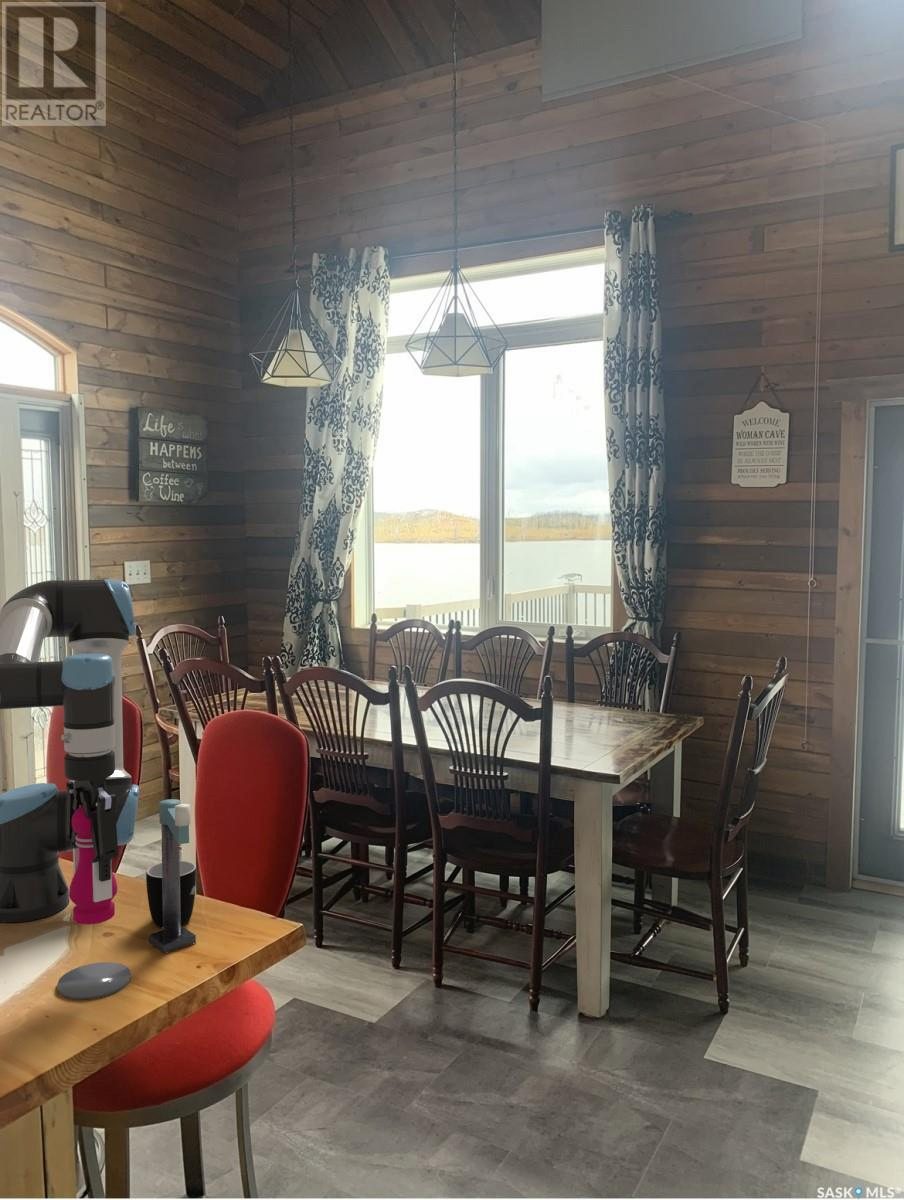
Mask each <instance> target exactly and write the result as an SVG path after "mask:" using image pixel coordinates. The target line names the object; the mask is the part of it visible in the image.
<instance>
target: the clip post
mask: <svg viewBox="0 0 904 1200" xmlns="http://www.w3.org/2000/svg"><path fill="white" fill-rule="evenodd" d="M160 826H161V827H160V828H161V863H162V892H163V928H162V930H158V931H155V932H151V933H149V934H148V941H147V942H148V944H149V945H151V944H152V945H151V946H152V947H154V948H155V949H157V950H158V951H160V952H162V953H163V954H164V955H165V954H167V952H168V953H170V951H171V952H173V950H174V951H177V950H180V949H183V948H186V947H188V945H189V946H191V944H192V945H194V944H193V943H195V944H197V936H196V935H197V934H195V933H193V932H192V931H190V930H189V929H187V928H186V927H184V926H183V925H182V926H181V912H180V861H181V860H180V859H181V858H180V857H181V856H180V855H181V854H180V853H181V852H180V844H179V843H178V842H177V840H176V838H175V837H174V835H173V834H172V832H171V830H170V829H169V827H168V825H163V824H160ZM185 946H186V947H185ZM182 947H183V948H182ZM179 948H180V949H179ZM176 949H177V950H176Z"/></svg>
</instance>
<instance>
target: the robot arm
mask: <svg viewBox="0 0 904 1200" xmlns="http://www.w3.org/2000/svg"><path fill="white" fill-rule="evenodd" d="M130 591H131V590H130V587H129V585H128V584H127V583H126V582H125V581H123V580H120V579H119V580H118V579H115V580H114V579H106V578H103V579H73V580H70V579H69V580H63V579H62V580H58V579H53V580H52V579H51V580H50V579H49V580H44V581H40V582H36V583H34V584H31V585H29V586H27V587H25V588H23V589H21V590H19V591H18V592H16V593H15V594H13V595H12V596H11V597H10V598H8V599H7V601H6V602H5V603H4V604H3V606H2V608H1V610H0V710H11V709H26V708H27V709H29V708H42V707H43V708H49V707H51V708H52V707H62V708H63V709H62V710H63V734H62V735H61V736H60V739H61V740H62V741H63V742H64V743H63V747H64V749H63V750H64V752H65V753H66V754H65V755H64V757H63V760H64V761H63V763H64V766H63V767H64V777H65V778H66V779H68V780H69V781H67V782H66V785H65V787H66V790H62V791H59V788H58V786H57V785H56V784H55V783H53V782H52V783H51V782H47V783H46V782H40V783H33V784H28V785H27V784H26V785H24V786H23V785H22V786H20V787H19V786H18V787H15V788H13V789H10V790H8V791H5V792H3V793H1V794H0V921H5V922H4V923H21V922H28V921H34V920H39V919H43V918H46V917H48V916H51V915H54V914H57V913H58V912H60V911H62V910H64V909H65V908H66V907H67V906H68V905H69V903H70V897H69V891H70V887H69V886H68V884H67V881H66V878H65V876H64V873H63V870H62V868H61V865H60V861H59V853H62V852H72V858H73V859H72V861H73V862H72V864H73V870H72V871H73V875H74V874H75V872H76V869H77V867H78V863H79V847H78V846H77V845H76V844H75V843H76V839H75V837H76V835H78V834H77V833H76V832H75V831H74V829H73V828H72V817H73V814H74V812H75V811H76V810H77V809H78V808H79V807H81V806H84V813H85V816H86V817H87V818H89V819H90V821H91V835H92V841H93V848H94V854H95V859H91V862H92V864H93V901H94V902H99V901H102V900H106V899H110V898H112V872H113V870H112V859H115V858H117V857H119V846H125V845H128V844H129V843H130V842H132V840H133V839H134V835H135V827H136V821H137V820H136V819H137V812H138V811H137V810H138V802H139V801H138V799H139V791H140V786H139V785H137V784H136V783H135V784H132V782H133V781H132V776H131V774H130V773H128V772H127V771H126V770H125V768H124V739H123V737H124V735H123V734H124V733H123V732H124V731H123V730H124V728H123V727H124V726H123V678H122V677H123V675H122V674H123V673H122V670H123V669H122V667H123V666H122V663H123V662H122V652H123V651H124V650H125V648H126V647H128V646H129V644H130V637H131V636H134V635H136V632H137V630H136V629H137V628H136V624H135V623H136V622H135V614H134V609H133V602H132V595H131V592H130ZM129 636H130V637H129ZM57 637H58V638H68V646H69V648H71V649H72V650H73V651H74V652H75V653H76V654H72V655H68V656H66V657H65V658H64V659H63V660H59V661H58V660H56V661H55V660H53V661H39V660H40V656H41V651H42V646H43V642H44V640H45V639H46V638H57ZM95 810H97V812H91V811H95Z"/></svg>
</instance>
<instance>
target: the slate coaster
mask: <svg viewBox="0 0 904 1200" xmlns="http://www.w3.org/2000/svg"><path fill="white" fill-rule="evenodd" d="M131 973H132V972H131V969H130V968H129V967H128V966H127V965H125V964H123V963H119V962H112V961H111V962H109V961H108V962H105V961H104V962H94V963H88V964H85V965H82V966H81V965H80V966H77V967H75V968H73V969H70V970H69V971H67V972H65V973H64V974H63V975H62V976H61V977H60V978H58V979H59V980H58V982H57V992H58V994H59V995H61V997H63V998H67V999H69V998H71V999H70V1000H76V999H77V1000H78V999H79V1000H80V1001H81V999H82V1000H83V999H87V1000H93V999H94V998H95V999H99V998H98V997H100V998H104V997H107V996H110V995H112V994H115V993H117V992H119V991H121V990H122V989H124V988H125V987H126V986H127V985H128V984H129V983H130V981H131V977H132V976H131ZM103 996H104V997H103ZM79 1000H78V1001H79ZM83 1001H84V1000H83Z"/></svg>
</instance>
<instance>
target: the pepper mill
mask: <svg viewBox="0 0 904 1200" xmlns="http://www.w3.org/2000/svg"><path fill="white" fill-rule="evenodd" d="M91 812H97V810H95V811H91ZM72 828H73V829H74V831H75V832H76V833H77V834H78V835H76V837H75V839H76V843H75V844H76V845H77V846H78V847H79V863H78V867H77V869H76V872H75V874H74V873H73V876H72V879H71V882H70V885H69V900H70V901H71V902H72V903H73V904H74V905H75V906H74V907H73V909H72V920H73V922H74V923H76V924H79V925H90V926H91V925H97V924H101V923H104V922H108V921H109V920H111V919H112V918H113V917H114V916H115V914H116V913H115V912H116V911H115V910H116V909H115V902H114V901H113V899H114V898H115V896H116V895H117V892H118V881H117V879H116V876H115V874H114V872H113V871H112V898H110V899H106V900H102V901H99V902H94V901H93V864H92V862H91V859H95V854H94V848H93V841H92V835H91V821H90V819H89V818H87V817H86V816H85V813H84V806H81V807H79V808H78V809H77V810H76V811H75V812H74V814H73V817H72Z"/></svg>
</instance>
